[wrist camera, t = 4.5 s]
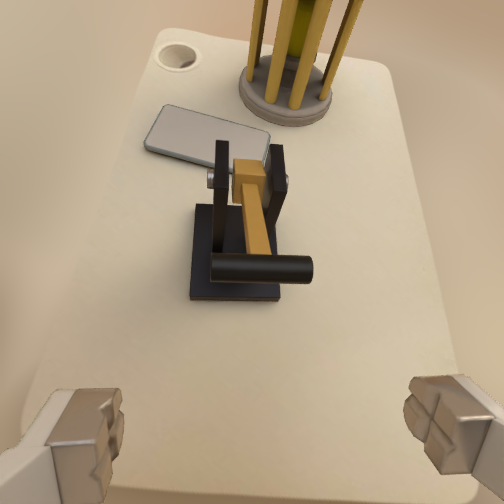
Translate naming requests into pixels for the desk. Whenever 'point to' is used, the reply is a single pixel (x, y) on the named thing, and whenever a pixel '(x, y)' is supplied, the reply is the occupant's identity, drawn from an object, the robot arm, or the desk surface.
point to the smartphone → (203, 137)
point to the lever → (256, 238)
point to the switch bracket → (234, 228)
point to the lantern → (293, 62)
